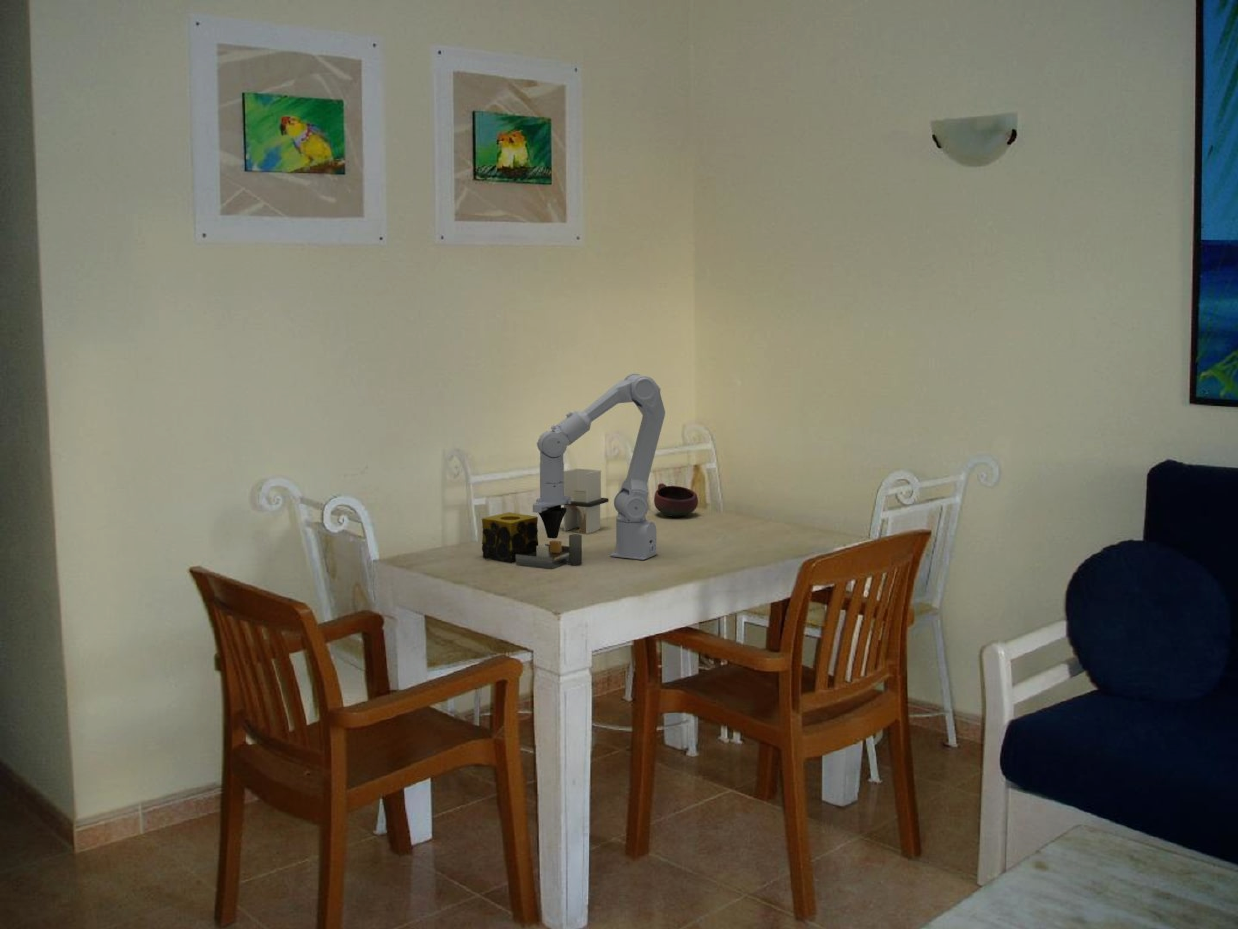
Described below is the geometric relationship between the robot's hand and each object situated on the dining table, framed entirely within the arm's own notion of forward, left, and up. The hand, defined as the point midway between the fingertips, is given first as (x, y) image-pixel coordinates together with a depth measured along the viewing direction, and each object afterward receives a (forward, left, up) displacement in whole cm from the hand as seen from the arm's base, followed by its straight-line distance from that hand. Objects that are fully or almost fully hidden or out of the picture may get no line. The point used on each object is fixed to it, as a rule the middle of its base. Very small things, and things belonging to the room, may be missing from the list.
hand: (552, 537), depth 308 cm
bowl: (+1, -67, -6) cm, 68 cm away
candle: (+11, +2, -6) cm, 12 cm away
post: (-7, +2, -5) cm, 9 cm away
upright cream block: (0, +5, -4) cm, 6 cm away
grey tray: (0, +2, -5) cm, 6 cm away
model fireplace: (+12, -36, -6) cm, 39 cm away
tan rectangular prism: (0, -1, -4) cm, 4 cm away
